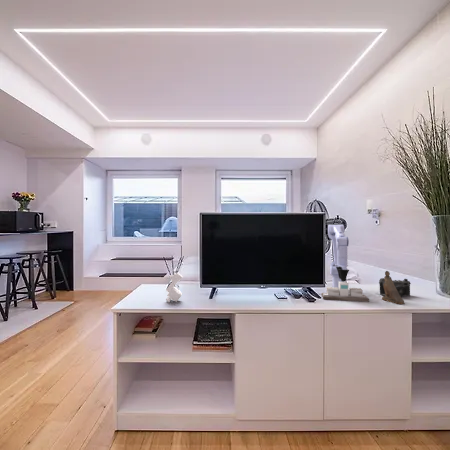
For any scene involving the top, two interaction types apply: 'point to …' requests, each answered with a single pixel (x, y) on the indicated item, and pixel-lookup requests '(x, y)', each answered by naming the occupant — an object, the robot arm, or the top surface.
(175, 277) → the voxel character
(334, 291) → the rail board
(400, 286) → the camera
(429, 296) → the top surface
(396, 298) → the brown carved statuette
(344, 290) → the block
